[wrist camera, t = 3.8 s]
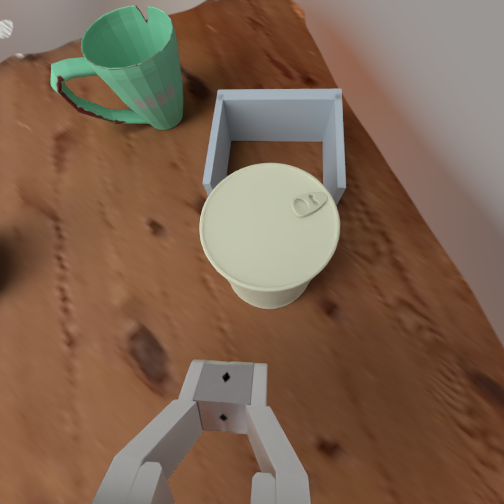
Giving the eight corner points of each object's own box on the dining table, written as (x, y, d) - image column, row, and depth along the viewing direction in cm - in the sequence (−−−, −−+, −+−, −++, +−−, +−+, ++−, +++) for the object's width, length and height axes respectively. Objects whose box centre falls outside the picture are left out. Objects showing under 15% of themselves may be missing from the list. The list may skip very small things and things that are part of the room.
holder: (330, 217, 28) (346, 187, 22) (215, 212, 29) (202, 183, 23) (328, 132, 31) (341, 88, 26) (226, 131, 33) (217, 89, 27)
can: (327, 285, 25) (374, 249, 14) (248, 324, 25) (230, 318, 13) (286, 215, 28) (298, 137, 17) (214, 248, 27) (176, 190, 16)
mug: (188, 82, 36) (158, -6, 27) (209, 128, 33) (185, 47, 23) (94, 117, 35) (30, 38, 26) (107, 167, 32) (39, 99, 23)
